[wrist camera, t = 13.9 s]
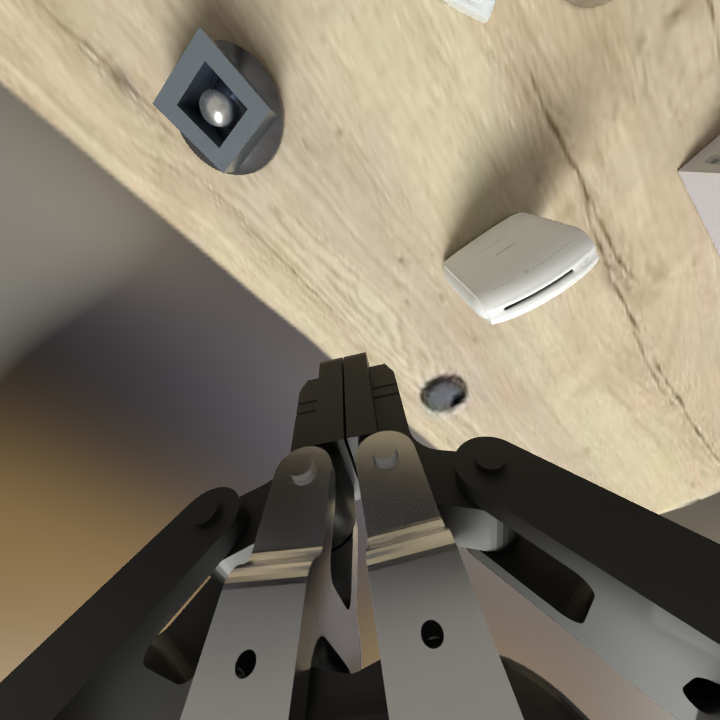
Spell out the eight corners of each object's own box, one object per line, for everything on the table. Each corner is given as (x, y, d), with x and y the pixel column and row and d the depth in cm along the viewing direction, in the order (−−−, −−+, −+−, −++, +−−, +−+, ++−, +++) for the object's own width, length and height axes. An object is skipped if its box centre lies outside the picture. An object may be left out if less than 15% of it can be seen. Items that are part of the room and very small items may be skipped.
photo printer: (522, 203, 33) (607, 225, 23) (535, 238, 35) (618, 273, 25) (435, 262, 36) (475, 305, 26) (452, 291, 38) (495, 343, 28)
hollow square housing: (218, 44, 25) (199, 26, 21) (279, 115, 27) (271, 110, 24) (175, 110, 27) (152, 103, 23) (236, 171, 29) (223, 173, 26)
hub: (261, 29, 25) (247, 7, 21) (297, 160, 30) (291, 161, 26) (154, 60, 26) (122, 44, 22) (206, 184, 31) (188, 189, 27)
